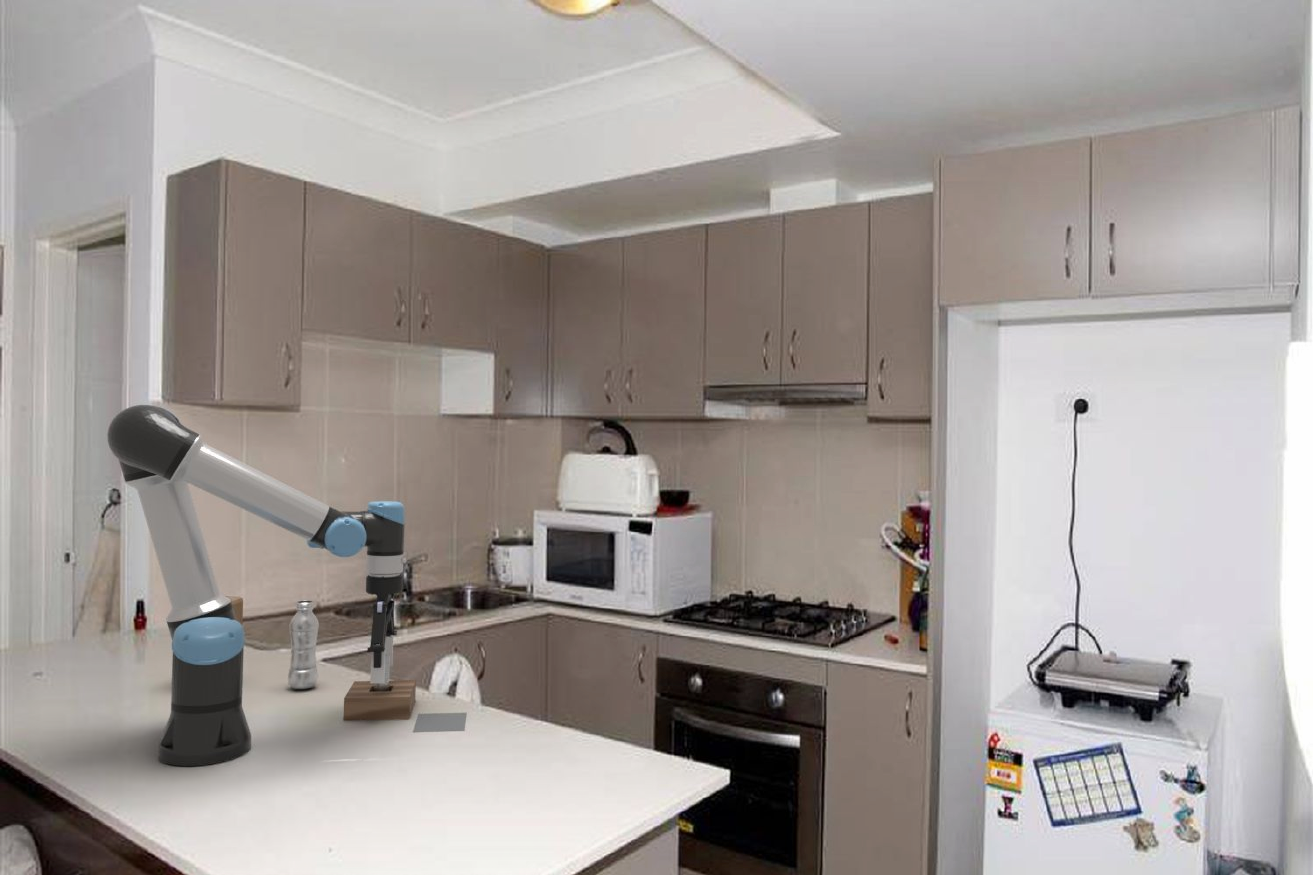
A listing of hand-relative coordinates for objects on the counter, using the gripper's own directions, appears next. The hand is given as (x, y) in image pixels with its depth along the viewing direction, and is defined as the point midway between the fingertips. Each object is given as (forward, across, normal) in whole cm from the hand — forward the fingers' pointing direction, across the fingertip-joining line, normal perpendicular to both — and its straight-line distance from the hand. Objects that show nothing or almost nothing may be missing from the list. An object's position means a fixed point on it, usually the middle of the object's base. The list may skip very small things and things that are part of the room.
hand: (381, 674), depth 190 cm
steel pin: (+8, 0, 0) cm, 8 cm away
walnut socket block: (+8, 0, 0) cm, 8 cm away
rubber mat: (+8, -9, -13) cm, 18 cm away
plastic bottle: (+8, +20, +20) cm, 29 cm away
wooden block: (+8, +24, +41) cm, 48 cm away
